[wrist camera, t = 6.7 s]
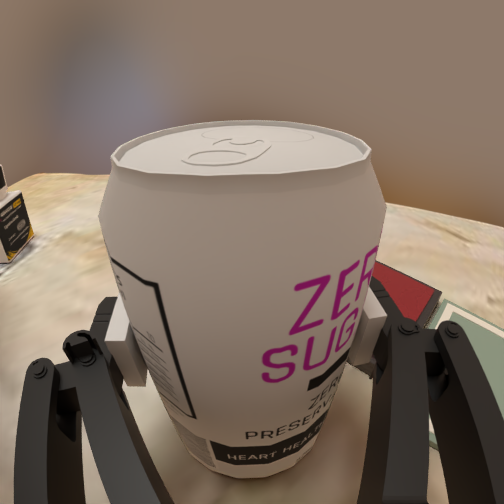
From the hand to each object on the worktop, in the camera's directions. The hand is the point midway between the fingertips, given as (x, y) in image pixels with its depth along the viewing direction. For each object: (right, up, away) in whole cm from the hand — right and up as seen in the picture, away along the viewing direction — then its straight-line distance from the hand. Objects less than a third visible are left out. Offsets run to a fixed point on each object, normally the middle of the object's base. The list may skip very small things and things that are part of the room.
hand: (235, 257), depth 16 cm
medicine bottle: (-33, 0, +17) cm, 37 cm away
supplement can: (+1, -9, 0) cm, 9 cm away
